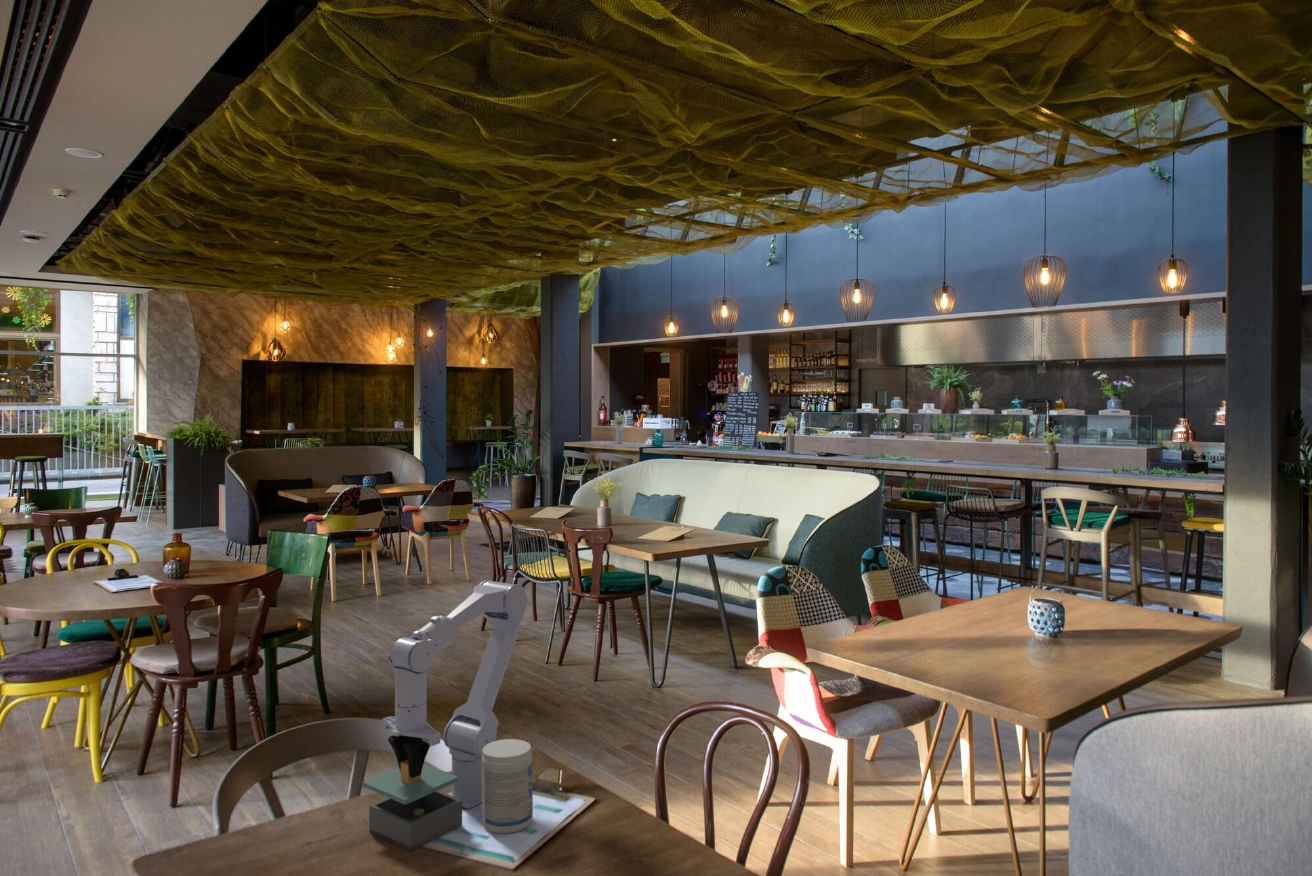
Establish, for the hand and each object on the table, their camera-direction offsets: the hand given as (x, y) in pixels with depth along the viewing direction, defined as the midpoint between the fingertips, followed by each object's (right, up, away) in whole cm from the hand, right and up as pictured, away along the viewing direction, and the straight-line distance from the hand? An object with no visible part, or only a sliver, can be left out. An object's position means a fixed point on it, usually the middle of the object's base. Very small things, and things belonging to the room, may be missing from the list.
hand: (410, 773), depth 163 cm
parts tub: (+1, -10, 0) cm, 10 cm away
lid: (0, -3, 0) cm, 3 cm away
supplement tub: (+18, -11, +3) cm, 21 cm away
